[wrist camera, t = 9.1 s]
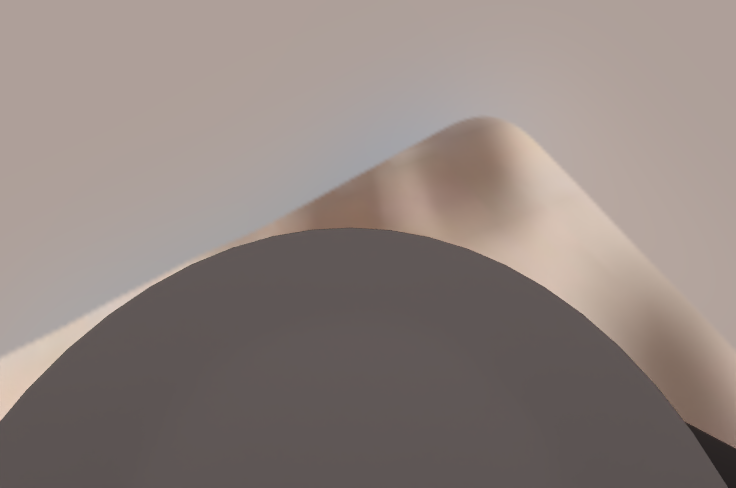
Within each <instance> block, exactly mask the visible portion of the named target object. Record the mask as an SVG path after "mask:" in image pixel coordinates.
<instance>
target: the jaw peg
mask: <svg viewBox="0 0 736 488" xmlns="http://www.w3.org/2000/svg"><path fill="white" fill-rule="evenodd" d="M0 488H728V487H727V485H726V484H725V482H724V481H723V479H722V477H721V476H720V474H719V473H718V471H717V470H716V468H715V467H714V465H713V463H712V462H711V460H710V459H709V457H708V456H707V454H706V453H705V451H704V449H703V448H702V446H701V445H700V443H699V442H698V440H697V439H696V437H695V435H694V434H693V432H692V431H691V430H690V429H689V427H688V426H687V425H686V423H685V422H684V421H683V420H682V418H681V417H680V416H679V414H678V413H677V412H676V411H675V409H674V408H673V407H672V405H671V404H670V403H669V402H668V400H667V399H666V398H665V396H664V395H663V394H662V392H661V391H660V390H659V389H658V387H657V386H656V385H655V384H654V383H653V382H652V381H651V380H650V379H649V378H648V376H647V375H646V374H645V373H644V372H643V371H642V370H641V369H640V368H639V367H638V366H637V365H636V364H635V363H634V362H633V361H632V359H631V358H630V357H629V356H628V355H627V354H626V353H625V352H624V351H623V350H622V349H621V348H620V347H619V346H618V345H617V344H616V343H615V342H614V341H612V340H611V339H610V338H609V337H608V336H607V335H606V334H604V333H603V332H602V331H601V330H600V329H599V328H598V327H596V326H595V325H594V324H593V323H592V322H591V321H590V320H589V319H587V318H586V317H585V316H584V315H583V314H582V313H580V312H579V311H577V310H576V309H575V308H573V307H572V306H570V305H569V304H568V303H566V302H565V301H563V300H562V299H561V298H559V297H558V296H556V295H555V294H553V293H552V292H551V291H549V290H548V289H546V288H545V287H544V286H542V285H540V284H538V283H536V282H535V281H533V280H531V279H529V278H528V277H526V276H524V275H522V274H520V273H519V272H517V271H515V270H513V269H512V268H510V267H508V266H506V265H504V264H502V263H499V262H497V261H495V260H492V259H490V258H488V257H485V256H483V255H481V254H478V253H476V252H474V251H471V250H469V249H466V248H463V247H460V246H456V245H453V244H450V243H446V242H443V241H440V240H436V239H433V238H430V237H425V236H419V235H414V234H408V233H403V232H397V231H392V230H378V229H362V228H338V229H319V230H308V231H302V232H296V233H290V234H284V235H278V236H272V237H269V238H265V239H262V240H258V241H255V242H251V243H248V244H244V245H241V246H237V247H234V248H231V249H228V250H226V251H223V252H221V253H219V254H216V255H214V256H211V257H209V258H206V259H204V260H201V261H199V262H197V263H194V264H192V265H190V266H188V267H186V268H184V269H182V270H180V271H179V272H177V273H175V274H173V275H171V276H169V277H167V278H166V279H164V280H162V281H160V282H158V283H156V284H154V285H153V286H151V287H149V288H148V289H146V290H145V291H143V292H142V293H140V294H139V295H137V296H136V297H134V298H133V299H131V300H130V301H129V302H127V303H126V304H124V305H123V306H121V307H120V308H118V309H117V310H115V311H114V312H112V313H111V314H109V315H108V316H107V317H106V318H104V319H103V320H102V321H101V322H100V323H98V324H97V325H96V326H95V327H94V328H92V329H91V330H90V331H89V332H88V333H86V334H85V335H84V336H83V337H82V338H80V339H79V340H78V341H77V342H76V343H74V344H73V345H72V346H71V347H70V348H68V349H67V350H66V351H65V352H64V353H63V354H62V355H61V356H60V357H59V358H58V359H57V360H56V361H55V362H54V363H53V364H52V365H51V366H50V367H49V368H48V369H47V370H46V371H45V372H44V373H43V374H42V375H41V376H40V377H39V378H38V379H37V380H36V381H35V382H34V383H33V384H32V385H31V386H30V387H29V388H28V389H27V390H26V391H25V393H24V394H23V395H22V396H21V397H20V399H19V400H18V401H17V402H16V403H15V405H14V406H13V407H12V408H11V409H10V411H9V412H8V413H7V414H6V415H5V417H4V418H3V419H2V420H1V421H0Z"/></svg>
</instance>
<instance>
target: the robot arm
mask: <svg viewBox="0 0 736 488" xmlns="http://www.w3.org/2000/svg"><path fill="white" fill-rule="evenodd" d="M685 423H686V422H685ZM686 425H687V426H688V427H689V429H690V430H691V431H692V432H693V434H694V435H695V437H696V439H697V440H698V442H699V443H700V445H701V446H702V448H703V449H704V451H705V453H706V454H707V456H708V457H709V459H710V460H711V462H712V463H713V465H714V467H715V468H716V470H717V471H718V473H719V474H720V476H721V477H722V479H723V481H724V482H725V484H726V485H727V487H728V488H736V449H735V448H734V447H732V446H730V445H728V444H726V443H724V442H722V441H720V440H718V439H716V438H715V437H713V436H711V435H709V434H707V433H705V432H703V431H701V430H699V429H697V428H695V427H694V426H692V425H690V424H688V423H686Z"/></svg>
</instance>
